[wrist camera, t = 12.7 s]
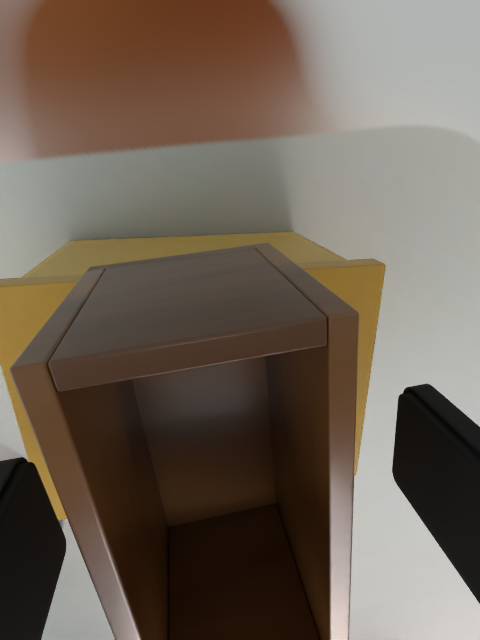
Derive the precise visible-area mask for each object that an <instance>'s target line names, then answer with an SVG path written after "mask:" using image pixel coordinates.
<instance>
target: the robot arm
mask: <svg viewBox="0 0 480 640" xmlns="http://www.w3.org/2000/svg"><path fill="white" fill-rule="evenodd" d="M392 472H393V476H394V479H395V482H396V483H397V485H398V486H399V488H400V489H401V491H402V492H403V494H404V495H405V497H406V498H407V499H408V501H409V502H410V504H411V505H412V507H413V508H414V510H415V511H416V512H417V514H418V515H419V517H420V518H421V520H422V521H423V522H424V524H425V525H426V527H427V528H428V530H429V531H430V533H431V534H432V535H433V537H434V538H435V540H436V541H437V543H438V544H439V546H440V547H441V548H442V550H443V551H444V553H445V554H446V556H447V557H448V559H449V560H450V561H451V563H452V564H453V566H454V567H455V569H456V570H457V571H458V573H459V574H460V576H461V577H462V579H463V580H464V582H465V583H466V584H467V586H468V587H469V589H470V590H471V592H472V593H473V595H474V596H475V597H476V599H477V600H478V602H479V603H480V427H479V426H478V425H477V424H476V423H474V422H473V421H472V420H471V419H470V418H469V417H467V416H466V415H465V414H464V413H463V412H462V411H460V410H459V409H458V408H457V407H456V406H455V405H453V404H452V403H451V402H450V401H449V400H448V399H446V398H445V397H444V396H443V395H442V394H441V393H440V392H438V391H437V390H436V389H435V388H434V387H433V386H431V385H429V384H423V385H417V386H412V387H407V388H405V390H404V392H403V394H401V395H400V396H399V399H398V410H397V421H396V433H395V445H394V456H393V468H392ZM65 552H66V539H65V536H64V533H63V531H62V528H61V526H60V523H59V521H58V519H57V516H56V514H55V511H54V509H53V506H52V504H51V502H50V499H49V497H48V494H47V492H46V490H45V487H44V485H43V482H42V480H41V477H40V475H39V473H38V470H37V468H36V466H35V464H34V463H33V462H27V460H26V459H25V458H22V457H21V458H16V459H10V460H4V461H0V640H41V637H42V634H43V630H44V627H45V623H46V620H47V616H48V613H49V609H50V606H51V602H52V599H53V595H54V592H55V588H56V585H57V581H58V578H59V574H60V571H61V567H62V563H63V560H64V556H65Z"/></svg>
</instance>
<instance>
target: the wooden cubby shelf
mask: <svg viewBox="0 0 480 640" xmlns="http://www.w3.org/2000/svg"><path fill="white" fill-rule="evenodd" d="M358 335H359V313H358V311H357V310H355V309H354V308H353V307H351V306H350V305H349V304H348V303H346V302H345V301H344V300H342V299H341V298H340V297H338V296H337V295H336V294H335V293H333V292H332V291H331V290H329V289H328V288H327V287H325V286H324V285H323V284H322V283H320V282H319V281H318V280H316V279H315V278H314V277H312V276H311V275H310V274H309V273H307V272H306V271H305V270H303V269H302V268H301V267H299V266H298V265H297V264H295V263H294V262H293V261H292V260H290V259H289V258H288V257H286V256H285V255H284V254H282V253H281V252H280V251H279V250H277V249H276V248H275V247H273V246H272V245H271V244H269V243H262V244H255V245H248V246H241V247H233V248H226V249H218V250H211V251H203V252H196V253H189V254H181V255H174V256H166V257H159V258H152V259H144V260H137V261H129V262H122V263H115V264H108V265H100V266H92V267H89V269H88V270H87V271H86V272H85V274H84V275H83V276H82V277H81V279H80V280H79V281H78V282H77V284H76V285H75V286H74V287H73V289H72V290H71V291H70V293H69V294H68V295H67V296H66V298H65V299H64V300H63V301H62V303H61V304H60V305H59V306H58V308H57V309H56V310H55V312H54V313H53V314H52V315H51V317H50V318H49V319H48V320H47V322H46V323H45V324H44V325H43V327H42V328H41V329H40V331H39V332H38V333H37V334H36V336H35V337H34V338H33V339H32V341H31V342H30V343H29V344H28V346H27V347H26V348H25V350H24V351H23V352H22V353H21V355H20V356H19V357H18V358H17V360H16V361H15V362H14V363H13V365H12V366H11V367H10V370H9V373H10V375H11V378H12V380H13V383H14V385H15V388H16V390H17V393H18V395H19V398H20V400H21V403H22V406H23V408H24V411H25V413H26V416H27V418H28V421H29V423H30V426H31V428H32V431H33V433H34V436H35V438H36V441H37V443H38V446H39V448H40V451H41V453H42V456H43V458H44V461H45V463H46V466H47V469H48V471H49V474H50V476H51V479H52V481H53V484H54V486H55V489H56V491H57V494H58V496H59V499H60V501H61V504H62V506H63V509H64V511H65V514H66V516H67V519H68V521H69V524H70V526H71V529H72V531H73V534H74V537H75V539H76V542H77V544H78V547H79V549H80V552H81V554H82V557H83V559H84V562H85V564H86V567H87V569H88V572H89V574H90V577H91V579H92V582H93V584H94V587H95V589H96V592H97V594H98V597H99V599H100V602H101V605H102V607H103V610H104V612H105V615H106V617H107V620H108V622H109V625H110V627H111V630H112V632H113V635H114V637H115V640H349V617H350V585H351V554H352V523H353V491H354V460H355V429H356V397H357V366H358Z"/></svg>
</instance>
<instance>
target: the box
mask: <svg viewBox="0 0 480 640" xmlns="http://www.w3.org/2000/svg"><path fill="white" fill-rule="evenodd" d="M262 243H269V244H271V245H272V246H273V247H275V248H276V249H277V250H279V251H280V252H281V253H282V254H284V255H285V256H286V257H288V258H289V259H290V260H292V261H293V262H294V263H295V264H297V265H298V266H299V267H301V268H302V269H303V270H305V271H306V272H307V273H309V274H310V275H311V276H312V277H314V278H315V279H316V280H318V281H319V282H320V283H322V284H323V285H324V286H325V287H327V288H328V289H329V290H331V291H332V292H333V293H335V294H336V295H337V296H338V297H340V298H341V299H342V300H344V301H345V302H346V303H348V304H349V305H350V306H351V307H353V308H354V309H355V310H357V311H358V313H359V335H358V366H357V397H356V429H355V460H354V476H355V475H356V471H357V464H358V457H359V450H360V443H361V436H362V429H363V422H364V415H365V408H366V401H367V393H368V386H369V379H370V372H371V365H372V358H373V351H374V344H375V337H376V330H377V323H378V316H379V309H380V301H381V294H382V287H383V280H384V273H385V264H384V263H381V262H379V261H377V260H375V259H359V260H346V259H344V258H343V257H341V256H339V255H337V254H335V253H333V252H331V251H329V250H327V249H325V248H324V247H322V246H320V245H318V244H316V243H314V242H312V241H310V240H308V239H306V238H304V237H303V236H301V235H299V234H297V233H295V232H272V233H247V234H223V235H198V236H173V237H149V238H124V239H100V240H75V241H69V242H68V243H67V244H65V245H64V246H63V247H61V248H60V249H59V250H57V251H56V252H55V253H53V254H52V255H51V256H49V257H48V258H47V259H45V260H44V261H43V262H41V263H40V264H39V265H37V266H36V267H35V268H33V269H32V270H31V271H29V272H28V273H27V274H25V275H24V276H23V277H21V278H9V279H0V364H1V368H2V371H3V375H4V378H5V381H6V385H7V388H8V392H9V395H10V399H11V402H12V405H13V409H14V412H15V416H16V419H17V423H18V426H19V429H20V433H21V436H22V440H23V443H24V447H25V450H26V453H27V457H28V460H29V462H33V463H34V464H35V466H36V468H37V470H38V473H39V475H40V477H41V480H42V482H43V485H44V487H45V490H46V492H47V494H48V497H49V499H50V502H51V504H52V506H53V509H54V511H55V514H56V516H57V519H58V520H63V519H67V516H66V514H65V511H64V509H63V506H62V504H61V501H60V499H59V496H58V494H57V491H56V489H55V486H54V484H53V481H52V479H51V476H50V474H49V471H48V469H47V466H46V463H45V461H44V458H43V456H42V453H41V451H40V448H39V446H38V443H37V441H36V438H35V436H34V433H33V431H32V428H31V426H30V423H29V421H28V418H27V416H26V413H25V411H24V408H23V406H22V403H21V400H20V398H19V395H18V393H17V390H16V388H15V385H14V383H13V380H12V378H11V375H10V373H9V370H10V367H11V366H12V365H13V363H14V362H15V361H16V360H17V358H18V357H19V356H20V355H21V353H22V352H23V351H24V350H25V348H26V347H27V346H28V344H29V343H30V342H31V341H32V339H33V338H34V337H35V336H36V334H37V333H38V332H39V331H40V329H41V328H42V327H43V325H44V324H45V323H46V322H47V320H48V319H49V318H50V317H51V315H52V314H53V313H54V312H55V310H56V309H57V308H58V306H59V305H60V304H61V303H62V301H63V300H64V299H65V298H66V296H67V295H68V294H69V293H70V291H71V290H72V289H73V287H74V286H75V285H76V284H77V282H78V281H79V280H80V279H81V277H82V276H83V275H84V274H85V272H86V271H87V270H88V269H89V267H92V266H100V265H108V264H115V263H122V262H129V261H137V260H144V259H152V258H159V257H166V256H174V255H181V254H189V253H196V252H203V251H211V250H218V249H226V248H233V247H241V246H248V245H255V244H262Z"/></svg>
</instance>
